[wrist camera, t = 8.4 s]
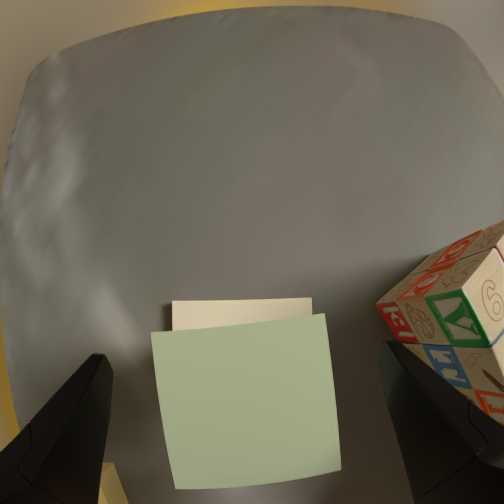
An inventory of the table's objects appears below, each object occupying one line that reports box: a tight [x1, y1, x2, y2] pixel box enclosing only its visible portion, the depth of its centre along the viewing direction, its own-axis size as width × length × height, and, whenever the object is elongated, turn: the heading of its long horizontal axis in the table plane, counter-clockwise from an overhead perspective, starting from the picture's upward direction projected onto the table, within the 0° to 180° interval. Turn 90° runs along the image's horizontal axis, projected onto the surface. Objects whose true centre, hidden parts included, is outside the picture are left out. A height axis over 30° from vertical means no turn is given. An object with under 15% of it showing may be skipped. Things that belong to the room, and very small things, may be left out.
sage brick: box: [151, 313, 341, 489], centre depth 12 cm, size 4×4×10 cm
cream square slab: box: [172, 298, 312, 331], centre depth 18 cm, size 8×8×2 cm
